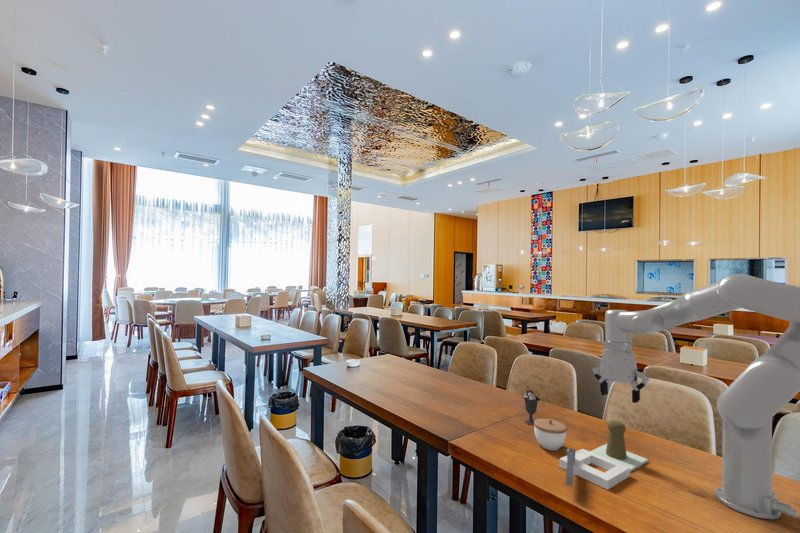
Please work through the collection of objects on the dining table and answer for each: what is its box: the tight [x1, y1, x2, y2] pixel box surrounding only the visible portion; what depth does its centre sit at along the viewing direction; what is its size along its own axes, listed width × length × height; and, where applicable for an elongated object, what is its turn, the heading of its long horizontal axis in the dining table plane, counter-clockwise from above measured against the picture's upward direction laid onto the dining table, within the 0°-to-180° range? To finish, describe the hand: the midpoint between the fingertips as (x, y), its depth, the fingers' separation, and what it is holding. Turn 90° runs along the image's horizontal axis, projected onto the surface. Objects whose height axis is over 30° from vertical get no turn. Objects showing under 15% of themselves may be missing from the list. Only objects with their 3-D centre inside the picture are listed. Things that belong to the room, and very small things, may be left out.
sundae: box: [522, 385, 541, 425], centre depth 148 cm, size 7×7×15 cm
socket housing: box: [558, 448, 631, 491], centre depth 110 cm, size 14×14×3 cm
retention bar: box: [565, 447, 576, 488], centre depth 105 cm, size 19×2×2 cm, turn 153°
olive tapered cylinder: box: [606, 420, 627, 460], centre depth 120 cm, size 6×6×11 cm
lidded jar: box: [533, 418, 568, 451], centre depth 127 cm, size 11×11×9 cm
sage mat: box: [589, 443, 649, 473], centre depth 119 cm, size 13×13×1 cm
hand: (619, 398), depth 120 cm, fingers open, 9 cm apart
